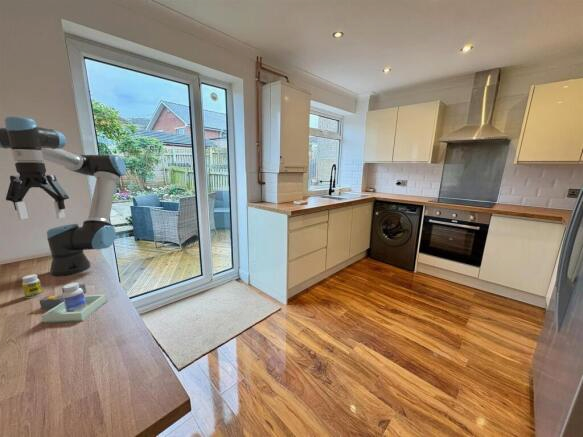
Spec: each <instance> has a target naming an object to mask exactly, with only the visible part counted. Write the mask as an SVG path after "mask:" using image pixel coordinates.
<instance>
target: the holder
mask: <svg viewBox="0 0 583 437" xmlns="http://www.w3.org/2000/svg"><path fill="white" fill-rule="evenodd" d="M78 284H79V283H78ZM63 287H64V286H62V287H61V290H62V294H63V293H64V292H65V291H64V289H63ZM79 288H81V289H83V293H84V294H85V293H87V289H86V284H85V283H82V284H81V283H80V284H79ZM62 302H64V300H63V297H62V295H58V294H56V295H50V296H45V297H43V298H41V299H39V305H40V309H41V310H51V309H53V308H54V307H56V306H57V305H59V304H61V303H62Z"/></svg>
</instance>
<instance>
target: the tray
mask: <svg viewBox="0 0 583 437" xmlns="http://www.w3.org/2000/svg"><path fill="white" fill-rule="evenodd" d="M84 298H85V302H86V308H84V309H83V310H82V311H80V312H66V308H65V304H64V302H62V303H61V304H59V305H57V306H56V307H54V308H52V309H48V311H46V312H45V313H43V314H42V315H41V318H42V322H43V324H55V323H56V324H57V323H74V322H75V323H76V322H83V321H85V320H86V319H87V318H89V317H90V316H91V315H92V314H94V313H96V311H98V310H99V309H100V308H101V307H103V305H105V304H107V303H108V297H107V294H105V293H104V294H88V295H85V294H84Z"/></svg>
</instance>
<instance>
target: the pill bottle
mask: <svg viewBox="0 0 583 437" xmlns="http://www.w3.org/2000/svg"><path fill="white" fill-rule="evenodd" d="M62 287H63V289H64V291H65V292H64V293H63V292H62V295H61V296H62V297H63V300H64V304H65V308H66V312H80V311H82V310H83V309H84V308H86V302H85V298H84V295H85V293H83V289H81V288H79V283H78V282H71V283H69V284H66V285H64V286H62Z"/></svg>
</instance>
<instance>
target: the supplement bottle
mask: <svg viewBox="0 0 583 437" xmlns="http://www.w3.org/2000/svg"><path fill="white" fill-rule="evenodd" d="M21 279H22V284H21V285H22V289H23V294H24V297H25V298H26V299H33V298H37V297H39V296H42V294H43V291H42V290H43V289H42V286H41V281H40V279H39V278H38V275H37V274H29V275H25V276H23V277H22V278H21Z"/></svg>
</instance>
